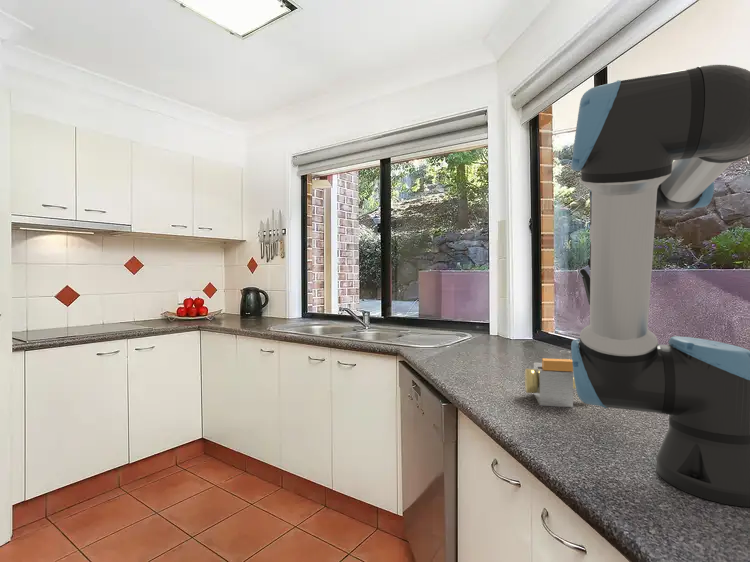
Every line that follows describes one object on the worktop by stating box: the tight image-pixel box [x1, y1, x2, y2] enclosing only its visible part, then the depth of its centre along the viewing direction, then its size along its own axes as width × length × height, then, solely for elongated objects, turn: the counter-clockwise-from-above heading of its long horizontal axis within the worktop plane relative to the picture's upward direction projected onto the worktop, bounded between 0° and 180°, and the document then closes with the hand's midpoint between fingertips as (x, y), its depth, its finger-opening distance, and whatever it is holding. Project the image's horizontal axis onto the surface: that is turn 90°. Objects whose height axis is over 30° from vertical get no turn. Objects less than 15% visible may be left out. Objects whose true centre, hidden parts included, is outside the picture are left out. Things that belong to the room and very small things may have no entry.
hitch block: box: [533, 361, 574, 408], centre depth 110 cm, size 10×8×9 cm
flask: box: [559, 350, 574, 377], centre depth 126 cm, size 7×7×10 cm
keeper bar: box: [541, 357, 573, 371], centre depth 106 cm, size 3×10×4 cm, turn 77°
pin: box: [524, 368, 576, 394], centre depth 110 cm, size 6×16×6 cm, turn 77°
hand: (605, 334), depth 104 cm, fingers closed
